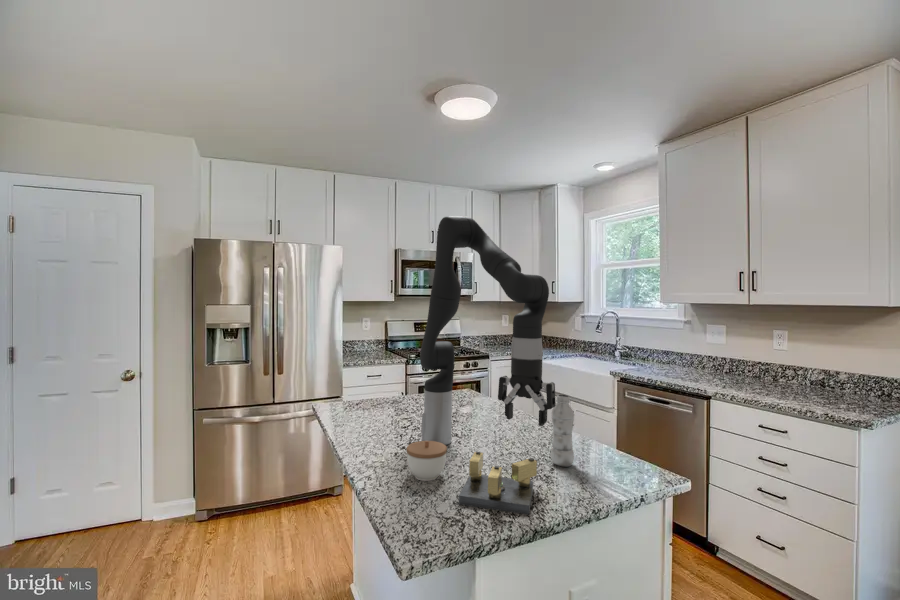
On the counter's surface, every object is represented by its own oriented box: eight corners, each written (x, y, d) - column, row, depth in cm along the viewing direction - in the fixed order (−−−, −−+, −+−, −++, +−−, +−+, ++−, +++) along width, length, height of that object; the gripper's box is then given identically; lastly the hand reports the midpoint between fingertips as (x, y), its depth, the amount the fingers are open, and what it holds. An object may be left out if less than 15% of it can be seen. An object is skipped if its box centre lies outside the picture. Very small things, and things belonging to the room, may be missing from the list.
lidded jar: (399, 480, 109) (399, 444, 109) (416, 465, 119) (417, 432, 119) (437, 487, 105) (438, 450, 105) (452, 471, 115) (452, 437, 115)
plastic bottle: (561, 471, 117) (562, 399, 117) (545, 462, 123) (546, 394, 123) (578, 467, 120) (580, 397, 120) (562, 459, 126) (563, 392, 126)
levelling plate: (458, 504, 97) (459, 489, 97) (470, 481, 109) (470, 468, 109) (529, 514, 93) (529, 499, 93) (533, 489, 105) (533, 476, 105)
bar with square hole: (498, 502, 93) (499, 477, 93) (486, 501, 94) (486, 475, 94) (502, 490, 99) (503, 466, 99) (491, 488, 100) (491, 464, 100)
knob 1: (479, 484, 103) (479, 460, 103) (467, 482, 103) (468, 459, 103) (483, 473, 109) (484, 451, 109) (473, 472, 109) (473, 450, 109)
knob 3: (519, 489, 100) (519, 465, 100) (510, 485, 102) (511, 462, 102) (537, 483, 104) (537, 460, 104) (528, 479, 106) (529, 456, 106)
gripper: (493, 354, 104) (492, 420, 104) (548, 360, 96) (547, 431, 96) (507, 351, 110) (506, 413, 110) (560, 357, 102) (559, 423, 102)
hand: (525, 421), depth 103 cm, fingers open, 8 cm apart
